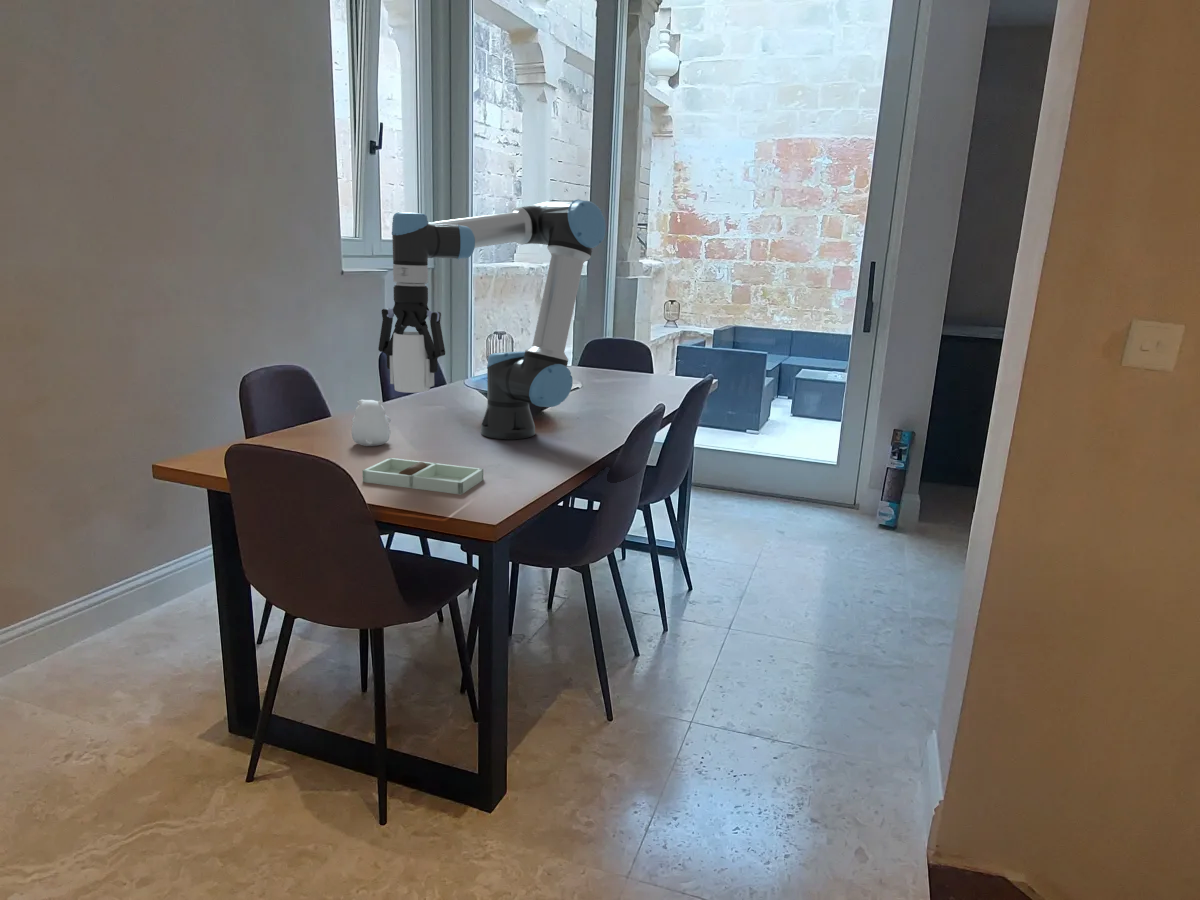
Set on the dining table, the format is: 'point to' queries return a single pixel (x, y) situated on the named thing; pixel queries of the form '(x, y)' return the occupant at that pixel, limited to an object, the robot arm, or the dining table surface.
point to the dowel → (414, 468)
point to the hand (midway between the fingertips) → (412, 384)
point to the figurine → (370, 424)
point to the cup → (409, 362)
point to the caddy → (424, 476)
